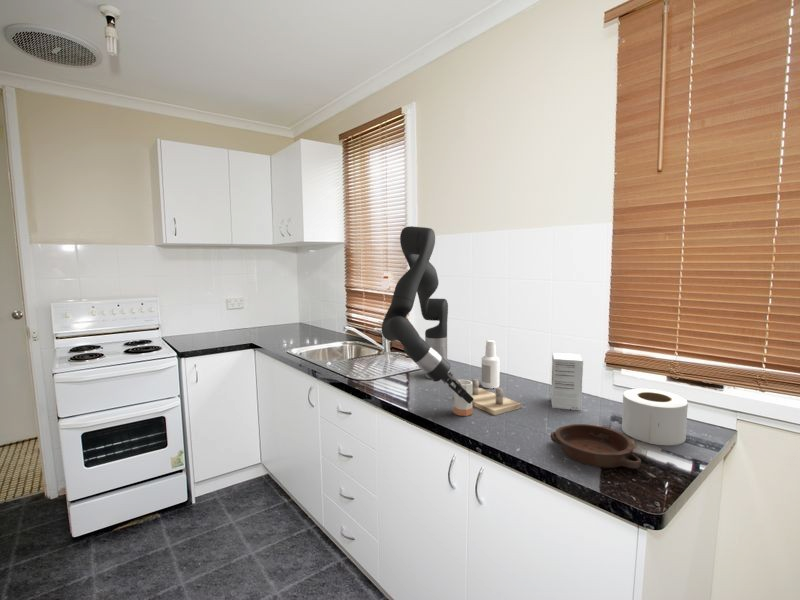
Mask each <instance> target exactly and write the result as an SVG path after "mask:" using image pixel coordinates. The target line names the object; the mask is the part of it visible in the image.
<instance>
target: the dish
mask: <svg viewBox="0 0 800 600" xmlns="http://www.w3.org/2000/svg"><path fill="white" fill-rule="evenodd" d="M550 440H551V441H552V442H553V443H554V444H557V445H559V447H560V448H561V451H562V452H563V454H564V455H566V456H567V457H569V458H571V460H574V461H575V462H579V463H582V464H584V465H588V466H591V467H592V466H593V467H598V468H607V469H608V468H609V469H610V468H618V467H625V468H629V469H635V470H636V469H638V470H639V469H640V467H641V466H642V465H641V464H642V459H641V458H640V457H638V456H637V455H636V454H635V453H633V451H634V449H635V447H636V446H635V443H634V442H633V440H632V439H631V437H628V435H625V434H624V433H621V432H619V431H617V430H614V429H612V428H608V427H606V426H601V425H596V424H595V425H594V424H585V423H575V424H568V425H564V426H560V427H558V428H557V429H555V431H552V432H551V433H550Z"/></svg>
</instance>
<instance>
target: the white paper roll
mask: <svg viewBox="0 0 800 600" xmlns="http://www.w3.org/2000/svg"><path fill="white" fill-rule="evenodd" d="M688 405H689V402H688V400H687V399H686V398H684V397H682V396H680V395H678V394H676V393H673V392H668V391H664V390H660V389H653V388H652V389H651V388H632V389H627V390H624V392H623V393H622V414H621V415H622V419H621V430H622V431H623V433H624V434H626V436H629V438H633V439H635V440H638V441H641V442H644V443H648V444H652V445H660V446H677V445H682V444H684V443H685V442H686V437H687V421H688V420H687V419H688V408H689V407H688Z"/></svg>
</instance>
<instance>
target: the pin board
mask: <svg viewBox="0 0 800 600" xmlns="http://www.w3.org/2000/svg"><path fill="white" fill-rule="evenodd" d="M471 381H472V397H473V401H472V406H473V407H475V408H478V409H480V410H482V411H484V412H486V413H488V414H491V415H493V416H497V415H501V414H503V413H508V412H512V411H515V410H519V409H521V408H522V403H521V402H518V401H515V400H513V399H510V398H508V397H506V396H504V388H503V387H498V388H495V393H494V392H492V391H489V390H487V389H484V388H483V387H479V385H480V384H479V383H480V382H479V379H478V378H477V379H476V378H472V379H471Z"/></svg>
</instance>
